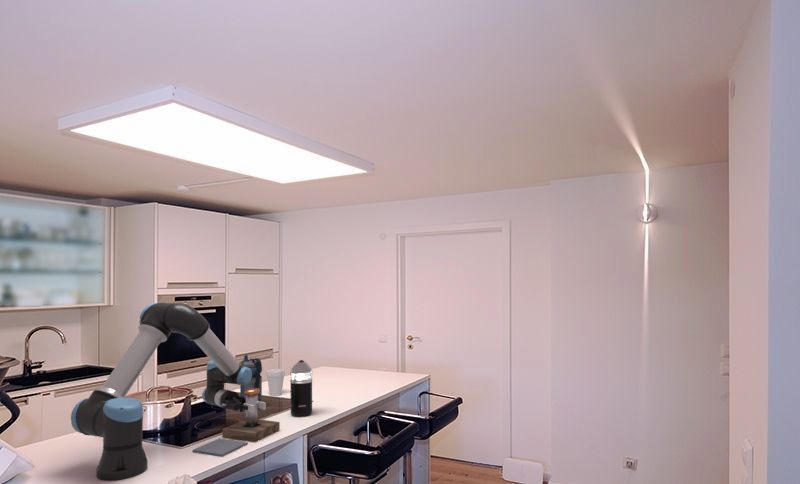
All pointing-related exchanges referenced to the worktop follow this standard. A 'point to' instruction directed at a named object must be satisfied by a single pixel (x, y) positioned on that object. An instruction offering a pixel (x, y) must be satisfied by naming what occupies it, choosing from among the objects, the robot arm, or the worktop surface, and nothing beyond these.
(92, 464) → the worktop surface
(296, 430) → the worktop surface
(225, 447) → the rubber pad
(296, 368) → the black coffee grinder
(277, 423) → the bore block
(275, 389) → the foam cup
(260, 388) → the beverage bottle
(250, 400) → the steel plug
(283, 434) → the worktop surface
